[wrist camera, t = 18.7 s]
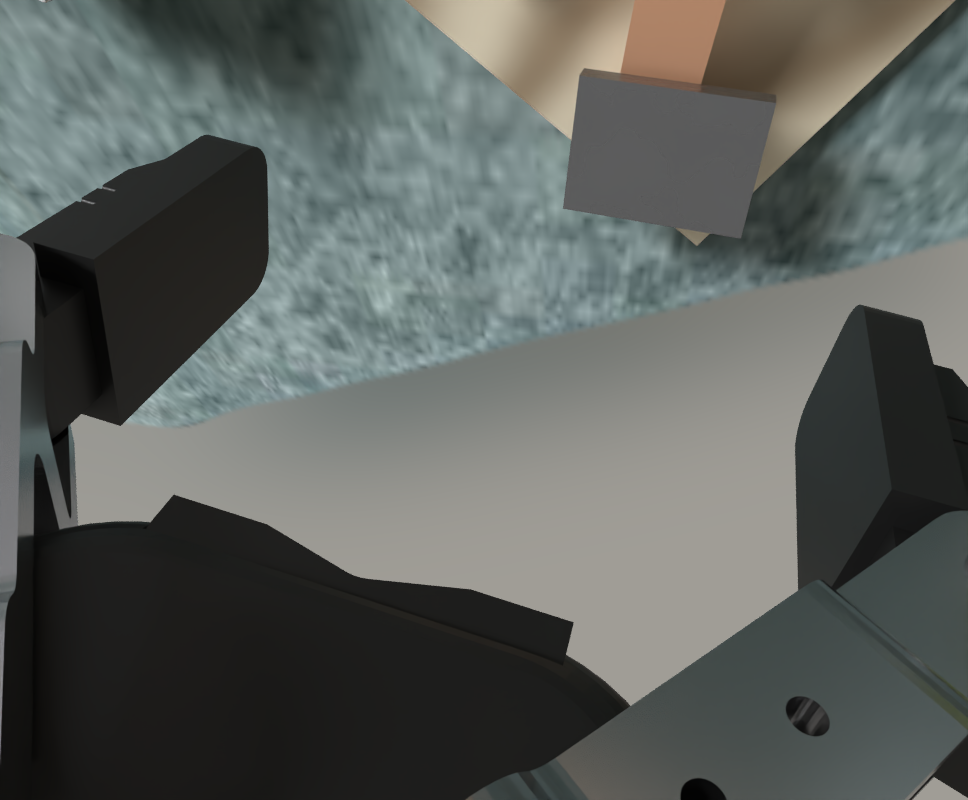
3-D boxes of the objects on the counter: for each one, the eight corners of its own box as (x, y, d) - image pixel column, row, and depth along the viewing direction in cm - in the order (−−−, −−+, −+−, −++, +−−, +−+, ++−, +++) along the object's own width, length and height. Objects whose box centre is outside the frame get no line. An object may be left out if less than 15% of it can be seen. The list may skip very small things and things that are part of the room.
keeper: (603, 39, 35) (579, 75, 31) (776, 62, 34) (776, 103, 30) (586, 161, 38) (563, 208, 34) (745, 185, 37) (740, 238, 33)
